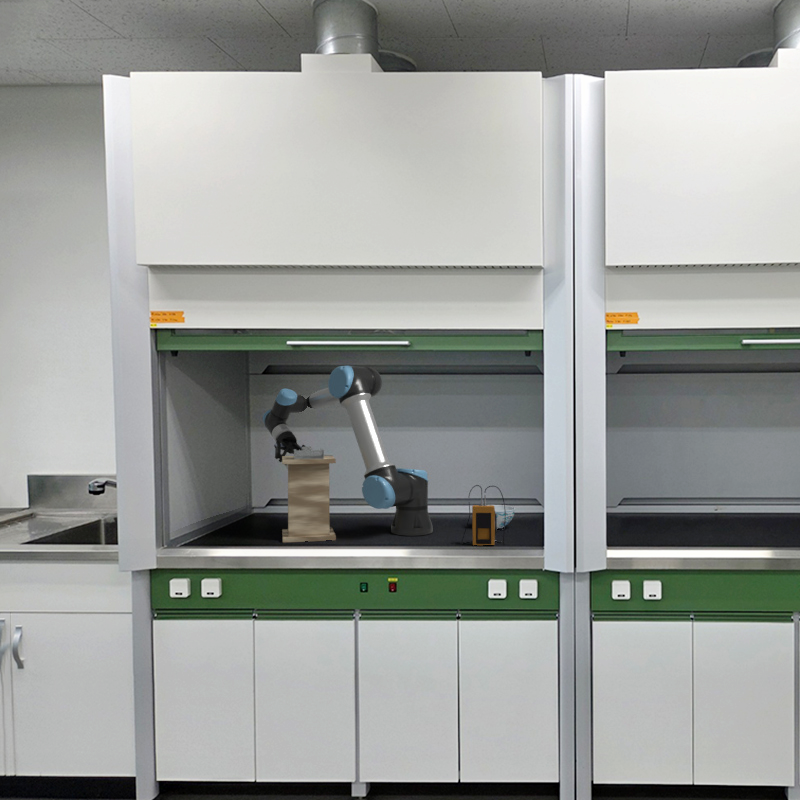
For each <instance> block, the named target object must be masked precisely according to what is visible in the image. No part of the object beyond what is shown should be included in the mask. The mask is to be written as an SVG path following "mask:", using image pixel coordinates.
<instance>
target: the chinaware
mask: <svg viewBox="0 0 800 800" xmlns="http://www.w3.org/2000/svg"><path fill="white" fill-rule="evenodd" d="M492 505H493V506H494V507H495V514H496V520H497V529H498V528H503V527H504V522H505V527H506V526H507V525H509V523H510V522H511V521H512V520H513V519H514V516H515V512H516V507H514V506H511V505H506V504H505V509H504V504H503V505H502V504H492ZM505 513H506V517H505Z"/></svg>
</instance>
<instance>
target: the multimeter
mask: <svg viewBox="0 0 800 800" xmlns="http://www.w3.org/2000/svg"><path fill="white" fill-rule="evenodd" d="M475 487H479V488H480V489H481V490H480V491H481V492H480V493H481V496H480V498H481V499H480V505H477V504H474V505H472V506H470V505H471V504H470V503H468V509H469V513H472V514H469V516H468V519H467V522H466V526H465V529H464V533H463V536H462V539H461V543H460V546H462V545H463V544H462V543H463V540H464V538H465V535H466V531H467V528H468V525H469V521H470V519H471V518H470V517H472V519H471V520H472V521H471V522H472V523H471V524H472V527H471V529H472V545H473V546H474V545H477V546H483V545H494V546H495V545H496V544H495V543H496V542H495V541H496V536H497V531H498V530H497V520H496V514H495V507H494V506H493V505H494V504H487V500H486V499H487V498H486V496H484V498H483V489H482V486H481V485H478V484H476V485H474V486H472V487H471V489H470V491H469V494H468V497H470V494H471V492H472V490H473V489H474V488H475ZM491 487H492V488H496V489H498V490H499V492H500V495H501V496H502V502H503V505H504V509H505V505H506V503H505V500H504V496H503V493H502V491H501V490H500V488H499V487H498V486H496V485H489V486H487V487H486V488H485V489H484V492H486V491H487V490H488V488H491ZM483 499H484V501H483ZM471 507H472V509H471ZM471 510H472V512H471ZM471 515H472V516H471ZM505 517H506V513H505ZM505 527H506V526H505V522H504V529H503V533H506V528H505ZM502 539H503V540H502V542H503V543H502V544H503V545H505V544H504V543H505V535H503V537H502Z"/></svg>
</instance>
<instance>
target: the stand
mask: <svg viewBox="0 0 800 800" xmlns="http://www.w3.org/2000/svg"><path fill="white" fill-rule="evenodd" d="M336 460H337V459H336V458H335V457H334V456H333V455H330V454H329V455H328V454H324V459H294V455H285V456H282V462H281V463H282V465H284V464H288V469H287V528H282V530H281V531H282V533H281V534H282V543H304V542H305V541H308V542H325V541H326V540H332V541H337V535H336V533H335V531H334V528H333V526H332V527H331V526H330V525H331V524H330V521H331V520H330V464H336V462H337V461H336ZM305 543H306V542H305Z"/></svg>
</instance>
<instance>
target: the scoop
mask: <svg viewBox="0 0 800 800" xmlns="http://www.w3.org/2000/svg"><path fill="white" fill-rule="evenodd" d="M324 452H325V450H324V449H323V448H320V449H317V450H316V449H314V450H313V448H312V447H311V446H306V447H301V450H296V449H294V454H293V456H294V459H324V455H325V454H324Z"/></svg>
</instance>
